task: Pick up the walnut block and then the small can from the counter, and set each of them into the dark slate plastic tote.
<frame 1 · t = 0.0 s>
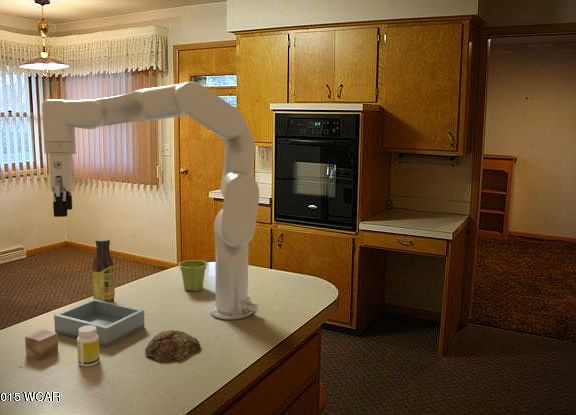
hand: (63, 212, 140), 31 cm above the kitchen island, tool pointing down, fingers open, 9 cm apart
walnut block: (42, 354, 128), on the kitchen island
tote: (100, 330, 142), on the kitchen island
sauce bottle: (104, 303, 163), on the kitchen island
bread roll: (171, 352, 132), on the kitchen island
supplement bottle: (89, 363, 125), on the kitchen island
plant pot: (193, 289, 177), on the kitchen island
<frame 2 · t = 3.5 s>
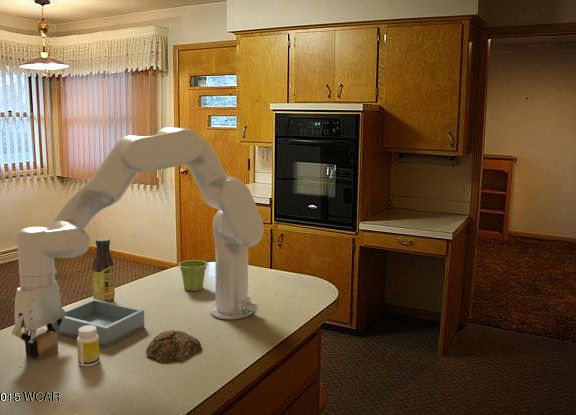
hand: (42, 351, 128), 1 cm above the kitchen island, tool pointing down, fingers closed on walnut block, 5 cm apart
walnut block: (42, 353, 128), on the kitchen island, touching gripper
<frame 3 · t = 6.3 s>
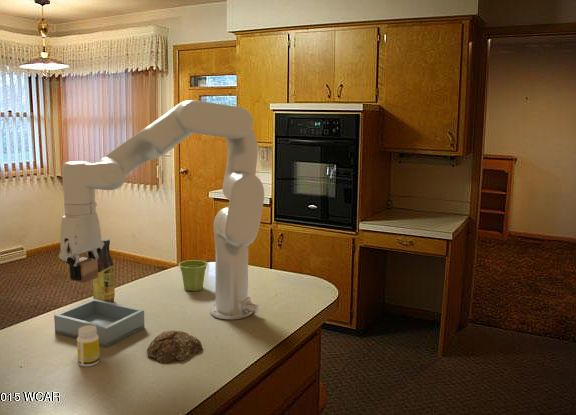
hand: (84, 276, 140), 15 cm above the kitchen island, tool pointing down, fingers closed on walnut block, 5 cm apart
walnut block: (84, 278, 140), point 14 cm above the kitchen island, touching gripper
everything else where it was.
when the fingers open (4 cm above the kitchen island, at t = 9.0 s): walnut block drops 3 cm, resting on tote.
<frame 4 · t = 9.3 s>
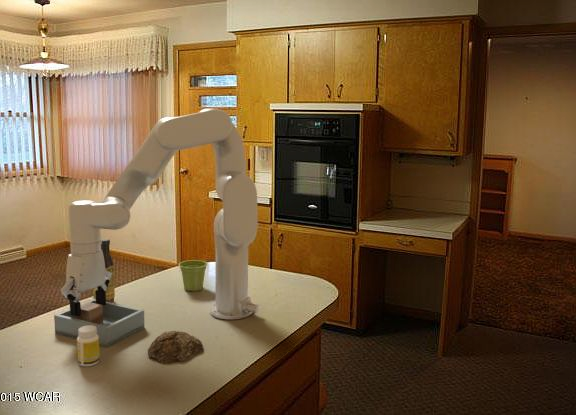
hand: (88, 309, 143), 5 cm above the kitchen island, tool pointing down, fingers open, 8 cm apart
walnut block: (89, 323, 144), point 1 cm above the kitchen island, touching tote
everything else where it was.
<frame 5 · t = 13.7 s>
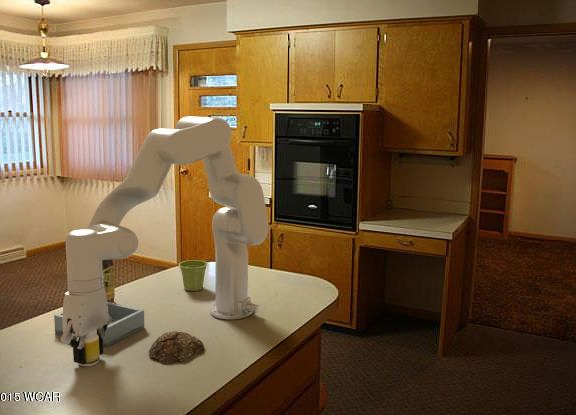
hand: (88, 357, 124), 1 cm above the kitchen island, tool pointing down, fingers closed on supplement bottle, 4 cm apart
supplement bottle: (89, 362, 125), on the kitchen island, touching gripper
when the fingers open (4 cm above the kitchen island, at t = 19.0 s): supplement bottle drops 2 cm, resting on tote.
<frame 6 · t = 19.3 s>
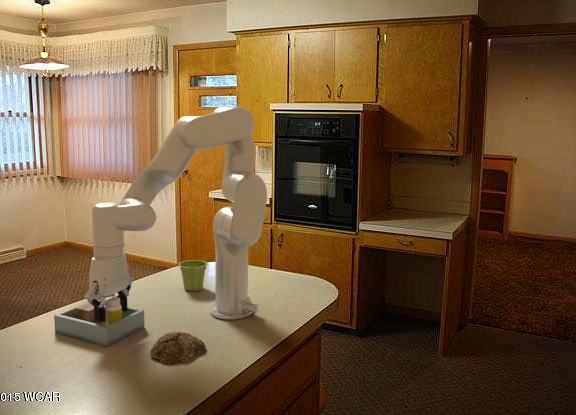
hand: (111, 315, 140), 5 cm above the kitchen island, tool pointing down, fingers open, 7 cm apart
supplement bottle: (113, 329, 141), point 1 cm above the kitchen island, touching tote
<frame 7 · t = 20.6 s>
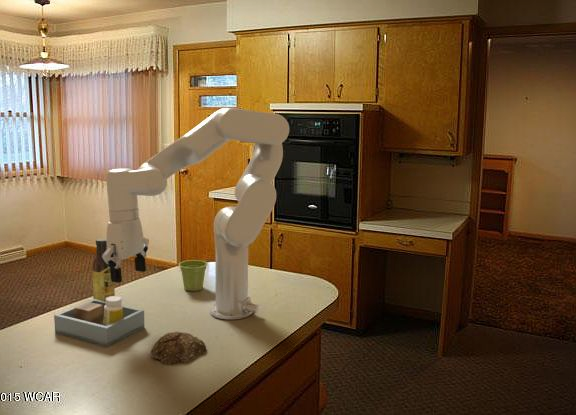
hand: (129, 276, 145), 14 cm above the kitchen island, tool pointing down, fingers open, 9 cm apart
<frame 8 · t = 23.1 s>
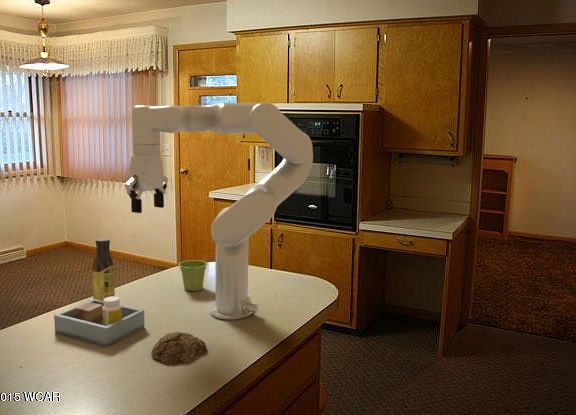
hand: (148, 209, 152), 30 cm above the kitchen island, tool pointing down, fingers open, 9 cm apart
at the end: walnut block inside the target area on the tote (4.0 cm from its centre), point 1.0 cm above the tote's base; supplement bottle inside the target area on the tote (4.1 cm from its centre), point 0.9 cm above the tote's base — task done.
